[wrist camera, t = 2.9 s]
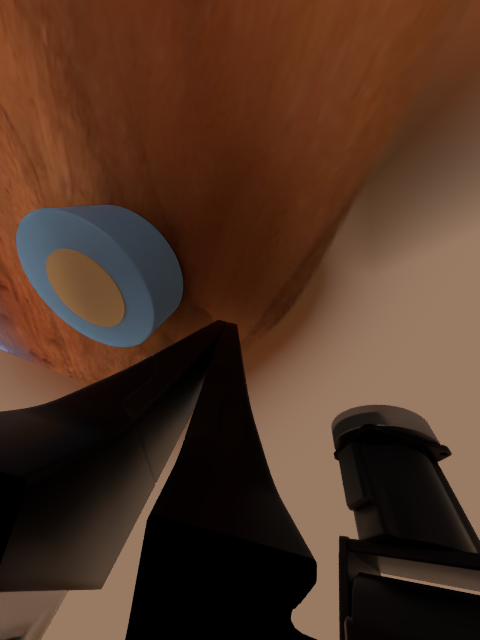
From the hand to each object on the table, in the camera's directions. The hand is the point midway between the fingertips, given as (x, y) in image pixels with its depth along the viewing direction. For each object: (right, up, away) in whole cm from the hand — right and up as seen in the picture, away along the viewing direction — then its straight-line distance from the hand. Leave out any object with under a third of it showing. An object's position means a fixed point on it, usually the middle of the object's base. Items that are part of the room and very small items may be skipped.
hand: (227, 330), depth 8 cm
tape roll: (-6, +3, +3) cm, 8 cm away
